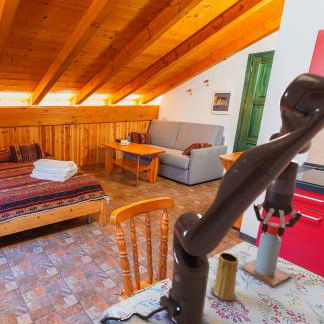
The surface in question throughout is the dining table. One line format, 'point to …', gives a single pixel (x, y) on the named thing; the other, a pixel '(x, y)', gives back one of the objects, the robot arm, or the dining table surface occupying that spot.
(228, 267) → the vase
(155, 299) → the dining table surface
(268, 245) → the bottle
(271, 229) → the cap
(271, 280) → the coaster
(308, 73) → the robot arm
